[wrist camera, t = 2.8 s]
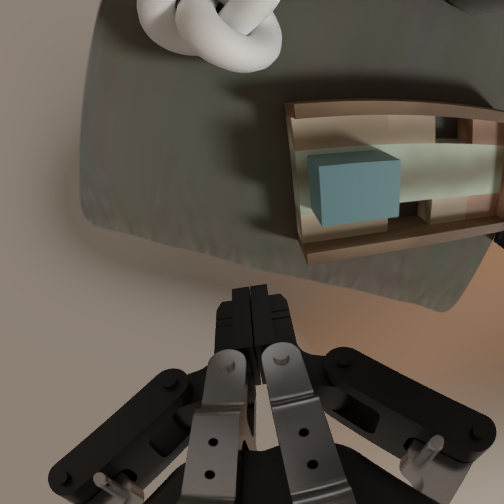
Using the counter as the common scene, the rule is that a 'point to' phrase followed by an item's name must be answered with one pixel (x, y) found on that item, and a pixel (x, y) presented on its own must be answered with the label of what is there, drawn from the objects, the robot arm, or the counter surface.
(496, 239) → the small box
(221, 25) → the white knot sculpture
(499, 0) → the canister
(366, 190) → the block
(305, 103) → the track
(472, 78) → the counter surface
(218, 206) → the counter surface
